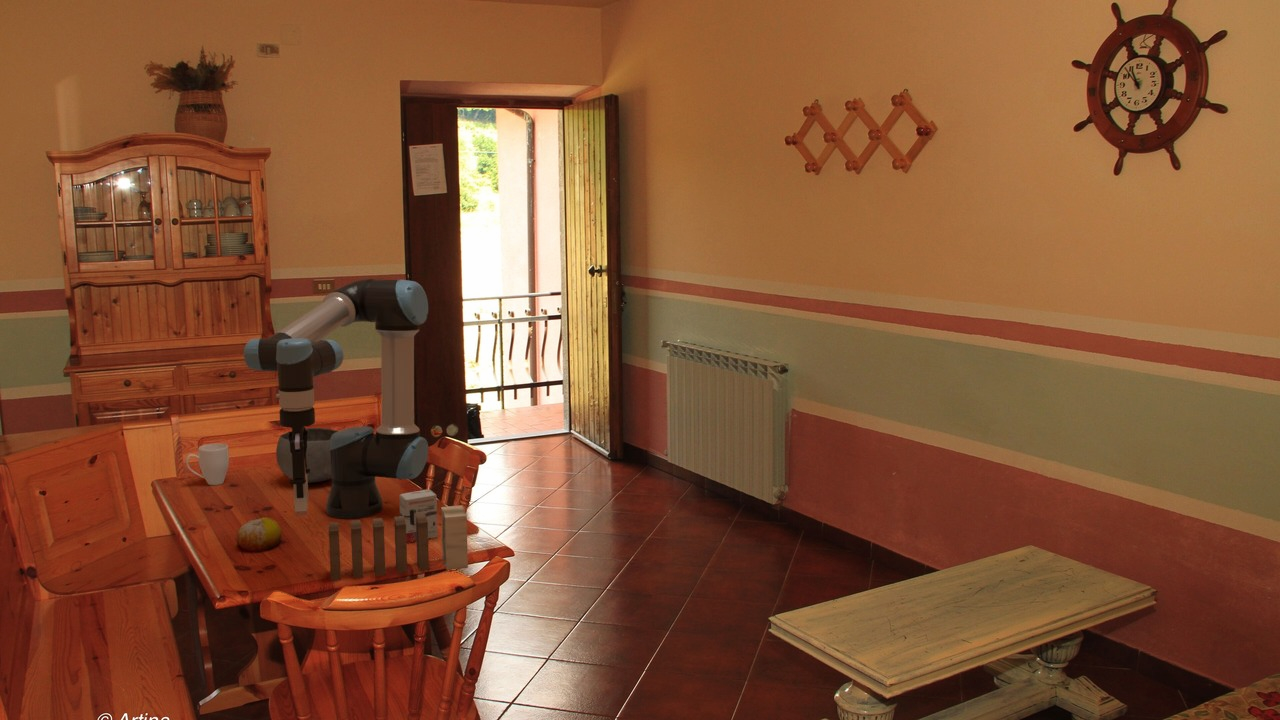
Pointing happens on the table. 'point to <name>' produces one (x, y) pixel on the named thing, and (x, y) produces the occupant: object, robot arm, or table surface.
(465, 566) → the bookend block
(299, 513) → the domino
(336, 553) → the domino
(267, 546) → the fruit
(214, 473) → the mug
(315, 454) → the bowl
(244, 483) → the table surface
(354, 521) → the domino
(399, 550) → the domino
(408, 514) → the ink box
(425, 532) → the domino
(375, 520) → the domino
